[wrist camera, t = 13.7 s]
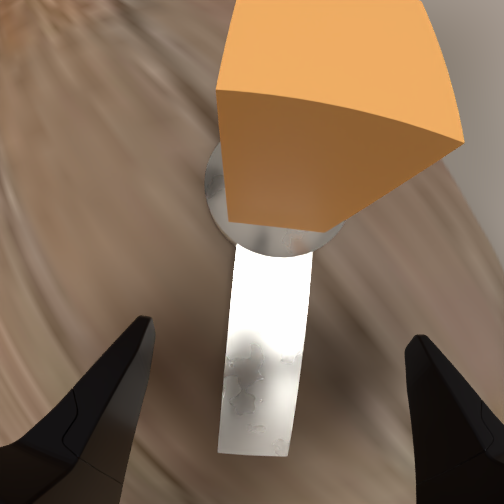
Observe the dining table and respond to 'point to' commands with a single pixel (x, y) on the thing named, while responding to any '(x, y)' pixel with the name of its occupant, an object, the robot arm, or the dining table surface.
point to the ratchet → (262, 325)
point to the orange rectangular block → (329, 107)
